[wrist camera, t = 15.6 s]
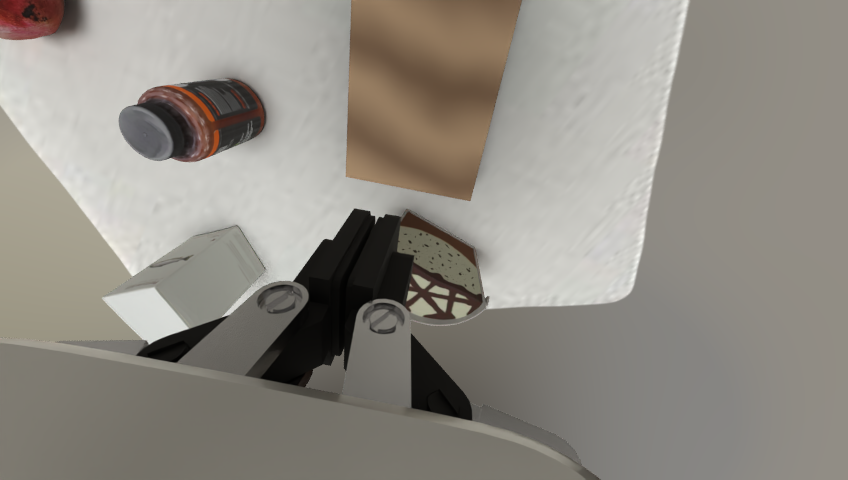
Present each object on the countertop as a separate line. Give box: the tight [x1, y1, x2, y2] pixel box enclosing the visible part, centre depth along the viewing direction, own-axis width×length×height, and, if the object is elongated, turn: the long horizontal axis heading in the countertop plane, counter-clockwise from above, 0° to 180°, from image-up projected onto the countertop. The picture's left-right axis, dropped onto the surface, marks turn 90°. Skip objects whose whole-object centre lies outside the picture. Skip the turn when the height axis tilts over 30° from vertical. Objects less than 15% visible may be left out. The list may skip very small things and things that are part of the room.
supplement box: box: [102, 226, 265, 344], centre depth 37 cm, size 7×7×13 cm
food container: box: [397, 209, 489, 326], centre depth 35 cm, size 12×6×10 cm, turn 60°
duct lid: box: [346, 0, 522, 201], centre depth 25 cm, size 20×12×1 cm, turn 171°
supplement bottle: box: [119, 79, 264, 162], centre depth 28 cm, size 6×6×11 cm
